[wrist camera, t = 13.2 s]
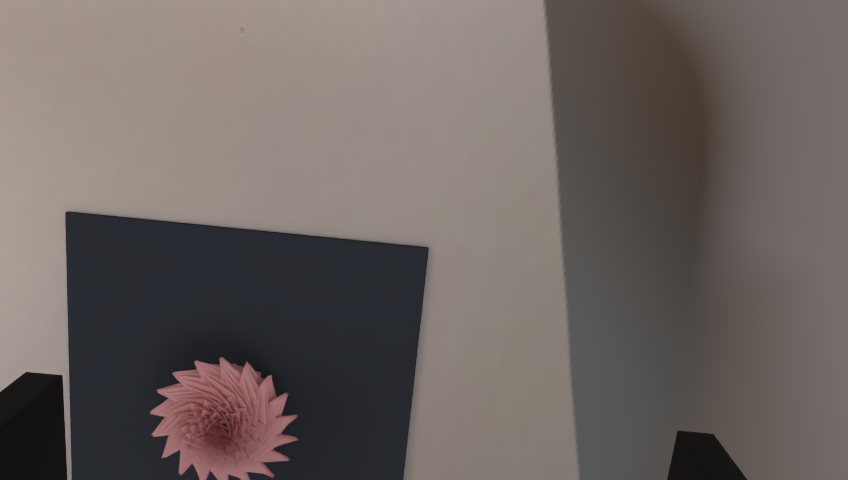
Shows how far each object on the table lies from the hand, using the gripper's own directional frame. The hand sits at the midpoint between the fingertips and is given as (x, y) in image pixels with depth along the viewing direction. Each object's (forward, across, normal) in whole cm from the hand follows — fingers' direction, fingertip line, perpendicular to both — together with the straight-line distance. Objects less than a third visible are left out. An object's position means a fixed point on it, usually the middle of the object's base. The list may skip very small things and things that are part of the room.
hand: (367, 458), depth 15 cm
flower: (+24, -9, -12) cm, 28 cm away
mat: (+24, -9, -12) cm, 28 cm away
